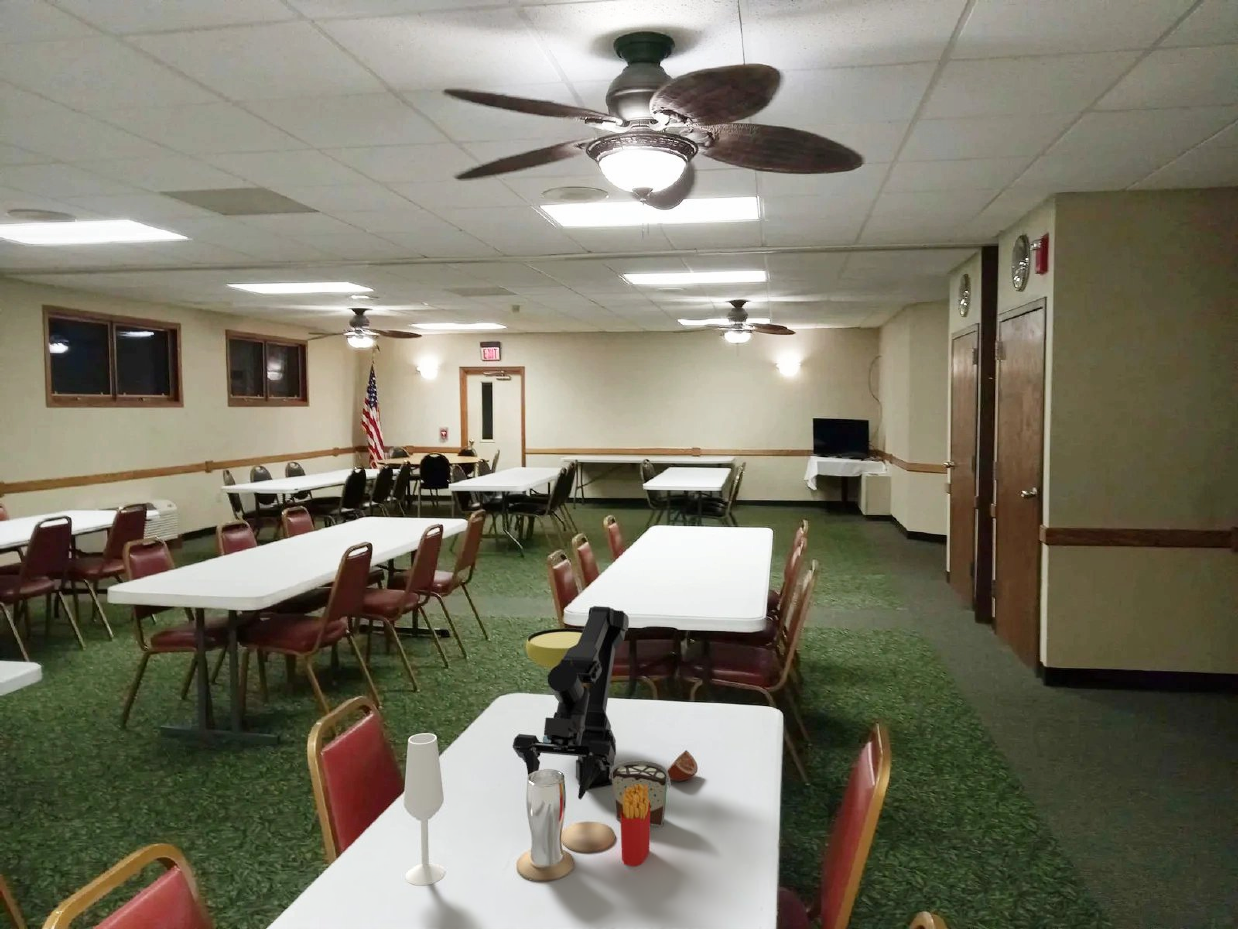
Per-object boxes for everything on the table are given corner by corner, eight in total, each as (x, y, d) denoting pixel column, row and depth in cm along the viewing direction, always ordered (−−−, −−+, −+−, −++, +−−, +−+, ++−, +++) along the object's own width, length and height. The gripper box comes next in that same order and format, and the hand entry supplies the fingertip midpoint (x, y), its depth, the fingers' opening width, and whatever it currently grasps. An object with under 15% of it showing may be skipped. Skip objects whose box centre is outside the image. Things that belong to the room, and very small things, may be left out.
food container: (678, 813, 164) (678, 764, 163) (669, 828, 158) (669, 777, 158) (619, 804, 168) (618, 756, 167) (609, 818, 162) (608, 768, 162)
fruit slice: (673, 768, 185) (673, 746, 184) (702, 773, 182) (702, 751, 182) (660, 784, 177) (660, 761, 177) (690, 789, 174) (690, 766, 174)
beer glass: (567, 869, 143) (567, 784, 142) (527, 872, 142) (526, 787, 141) (565, 848, 150) (564, 767, 149) (526, 851, 149) (525, 770, 148)
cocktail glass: (560, 719, 214) (559, 624, 212) (616, 735, 203) (616, 635, 202) (511, 743, 199) (510, 640, 197) (570, 761, 189) (569, 653, 187)
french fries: (637, 870, 144) (637, 803, 143) (616, 865, 145) (616, 799, 145) (654, 846, 152) (654, 782, 151) (634, 842, 153) (634, 779, 152)
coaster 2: (603, 820, 161) (603, 817, 161) (622, 845, 152) (622, 842, 152) (554, 830, 158) (554, 827, 158) (570, 856, 148) (570, 853, 148)
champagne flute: (408, 889, 139) (405, 749, 137) (402, 868, 145) (399, 734, 143) (449, 879, 141) (446, 742, 140) (441, 860, 147) (438, 728, 146)
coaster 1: (564, 846, 152) (563, 842, 152) (581, 874, 143) (581, 871, 143) (510, 856, 148) (510, 853, 148) (524, 886, 139) (524, 883, 139)
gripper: (514, 693, 157) (494, 775, 147) (610, 700, 153) (596, 785, 143) (529, 717, 165) (511, 797, 155) (620, 724, 161) (607, 807, 151)
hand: (555, 796), depth 151 cm, fingers open, 9 cm apart
